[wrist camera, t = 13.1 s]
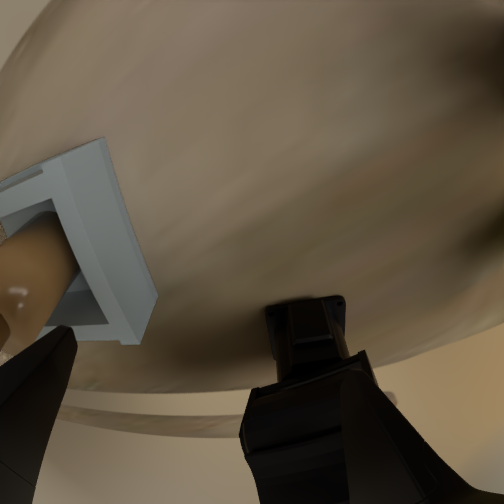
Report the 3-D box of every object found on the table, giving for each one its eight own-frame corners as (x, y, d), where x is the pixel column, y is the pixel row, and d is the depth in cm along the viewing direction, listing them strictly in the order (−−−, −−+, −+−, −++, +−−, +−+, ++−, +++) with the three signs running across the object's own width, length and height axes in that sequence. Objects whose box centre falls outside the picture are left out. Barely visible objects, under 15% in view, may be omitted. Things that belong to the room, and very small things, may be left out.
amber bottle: (96, 274, 22) (9, 441, 9) (44, 280, 22) (-42, 416, 9) (70, 203, 19) (-71, 356, 6) (18, 218, 19) (-102, 343, 6)
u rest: (104, 136, 17) (60, 156, 13) (158, 295, 24) (140, 344, 19) (-5, 184, 18) (-46, 210, 14) (50, 305, 25) (25, 343, 20)
